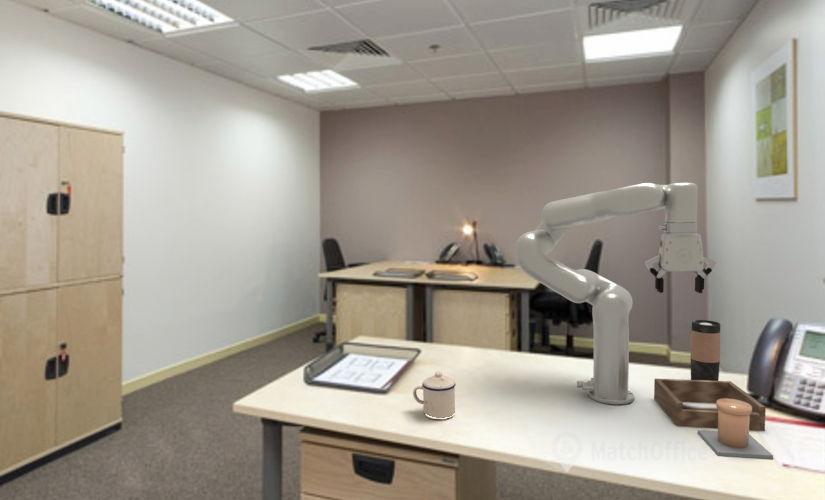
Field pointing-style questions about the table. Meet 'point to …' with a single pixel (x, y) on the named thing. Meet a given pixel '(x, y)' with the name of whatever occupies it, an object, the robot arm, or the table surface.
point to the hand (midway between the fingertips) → (679, 292)
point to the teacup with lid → (437, 396)
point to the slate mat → (723, 450)
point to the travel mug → (705, 350)
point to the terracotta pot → (733, 422)
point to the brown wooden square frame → (703, 391)
